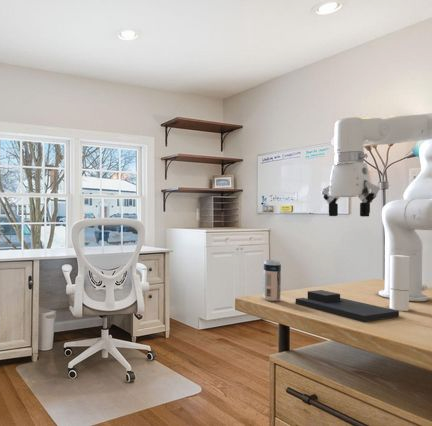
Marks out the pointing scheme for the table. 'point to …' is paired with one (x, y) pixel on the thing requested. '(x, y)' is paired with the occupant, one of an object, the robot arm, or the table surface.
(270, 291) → the beer can
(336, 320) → the table surface
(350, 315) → the dark blue flat slab
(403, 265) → the tube
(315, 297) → the black block
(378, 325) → the table surface
